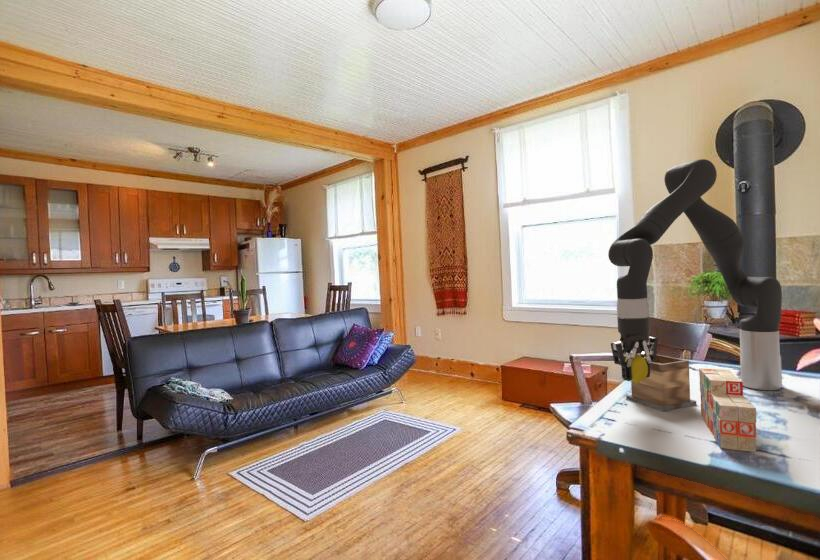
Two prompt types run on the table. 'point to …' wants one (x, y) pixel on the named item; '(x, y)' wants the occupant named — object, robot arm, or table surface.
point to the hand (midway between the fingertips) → (636, 378)
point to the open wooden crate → (664, 385)
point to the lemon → (638, 368)
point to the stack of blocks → (727, 410)
